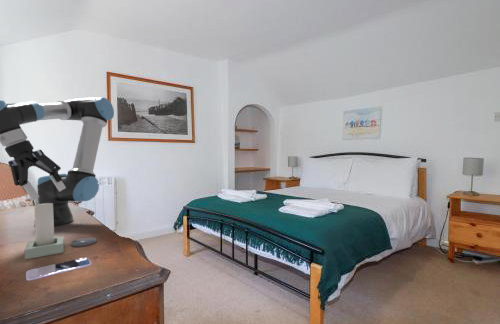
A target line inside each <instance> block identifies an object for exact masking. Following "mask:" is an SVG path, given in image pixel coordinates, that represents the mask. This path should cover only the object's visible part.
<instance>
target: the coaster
mask: <svg viewBox="0 0 500 324" xmlns="http://www.w3.org/2000/svg"><path fill="white" fill-rule="evenodd" d="M95 243H97V238H96V237H83V238H78V239H75V240H73V241H71V242H70V246H71V247H73V248H79V247H87V246H91V245H93V244H95Z"/></svg>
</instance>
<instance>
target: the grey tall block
mask: <svg viewBox="0 0 500 324" xmlns="http://www.w3.org/2000/svg"><path fill="white" fill-rule="evenodd" d="M34 221H35V222H34V226H35V228H34V229H35V240H36V246H42V245H49V244H55V240H54V238H55V225H54V217H53V203H43V204H38V203H37V204H34Z"/></svg>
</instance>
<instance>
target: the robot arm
mask: <svg viewBox="0 0 500 324" xmlns="http://www.w3.org/2000/svg"><path fill="white" fill-rule="evenodd" d="M114 115H115V111H114V106H113V104H112V102H111V101H110V100H109V99H107V98H106V97H102V96H101V97H99V96H96V97H83V98H82V97H80V98H78V97H77V98H73V99H72V98H71V99H65V100H58V101H56V102H53V103H52V102H46V103H41V102H40V103H39V102H37V101H25V102H18V103H16V102H15V103H13V102H12V103H6V102H5V100H4V99H0V144H1V145H2V147H4V151H5V152H6V153H7V156H8V157H10V158H13V159H12V160H8V161H7V162H8V166H9V167H10V171H11V175H12V179H13V183H14V185H15V186H20V187H22V189H23V190H24V192H25V193H26V194H27V195H28V196H29V198H30V199H31V201H34V200H36V199H37V200H38V201H37V202H38V203H37V204H43V203H53V217H54V226H61V225H64V224H68V223H71V222H73V221H74V216H73V213H72V211H71V208H70V207H69V202H79V203H80V202H89V201H91V200H92V199H94V198H95V197H96V195H97V194H98V192H99V190H100V183H99V180H98V178H96V173H94V169H95V163H96V159H97V156H98V155H97V153H98V151H99V145H100V141H101V136H102V132H103V128H105V127H106V126H107V123H108V121H110V120H112V119H113V118H114ZM46 120H61V121H81V122H82V128H81V132H80V136H79V141H78V145H77V149H76V153H75V158H74V161H73V165H72V168H71V169H69V170H67V173H60V174H59V171H60V170H62V169H61V166H60V165H59V164H57V163H56V162H54V161H53V160H52V159H51V158H50V157H49V156H47V155H46V154H45V152H43V150H42V149H37V150H34V146H33V145H32V143H31V142H30V140H27V139H28V136H27V135H26V133H25V132H24V130H23V129H22V127H21V125H25V124H29V123H33V122H37V121H38V122H39V121H46ZM31 167H36V168H38V169H40V170H41V171H44V172H45V173H48V174H49V175H43V176H40V177H38V178H37V185H36V187H37V190H36V189H35V187H34V186H33V184H32V183H31V182H30V181H29V168H31ZM34 223H35V220H34Z"/></svg>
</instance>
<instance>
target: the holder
mask: <svg viewBox="0 0 500 324" xmlns="http://www.w3.org/2000/svg"><path fill="white" fill-rule="evenodd" d="M64 238H65V237H64V236H63V235H62V236H54V240H55V244H49V245H42V246H36V239H35V240H31V241H27V243H26V245H25V248H24V260H28V259H33V258H41V257H45V256H46V257H47V256H51V255H57V254H63V253H64V251H65V250H64V249H65V248H64V247H65V241H64Z"/></svg>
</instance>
